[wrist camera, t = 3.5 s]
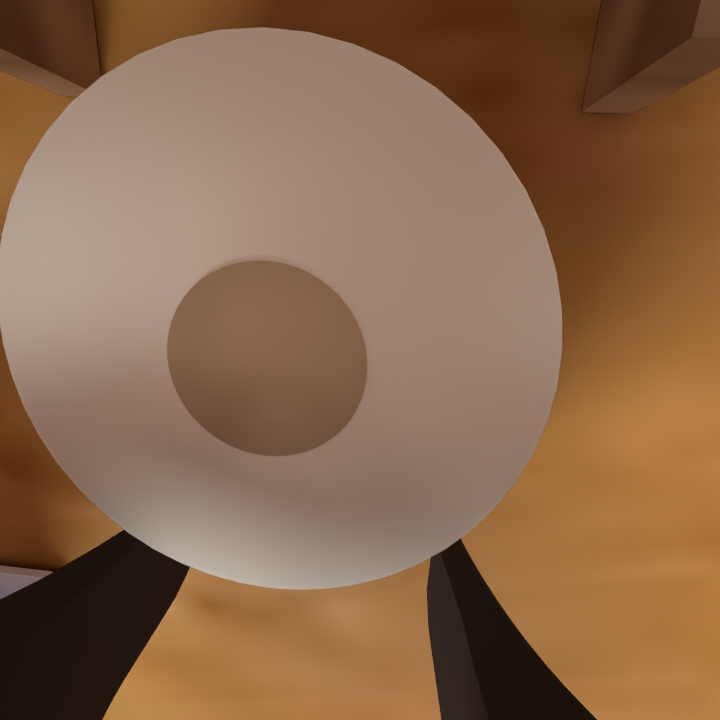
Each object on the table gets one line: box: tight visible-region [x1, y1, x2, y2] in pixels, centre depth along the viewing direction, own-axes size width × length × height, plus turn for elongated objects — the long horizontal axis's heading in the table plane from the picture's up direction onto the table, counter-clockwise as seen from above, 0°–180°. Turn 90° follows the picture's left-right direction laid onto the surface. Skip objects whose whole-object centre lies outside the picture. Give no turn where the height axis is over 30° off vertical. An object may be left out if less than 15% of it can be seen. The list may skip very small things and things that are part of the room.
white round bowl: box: [0, 27, 562, 590], centre depth 9 cm, size 9×9×6 cm
